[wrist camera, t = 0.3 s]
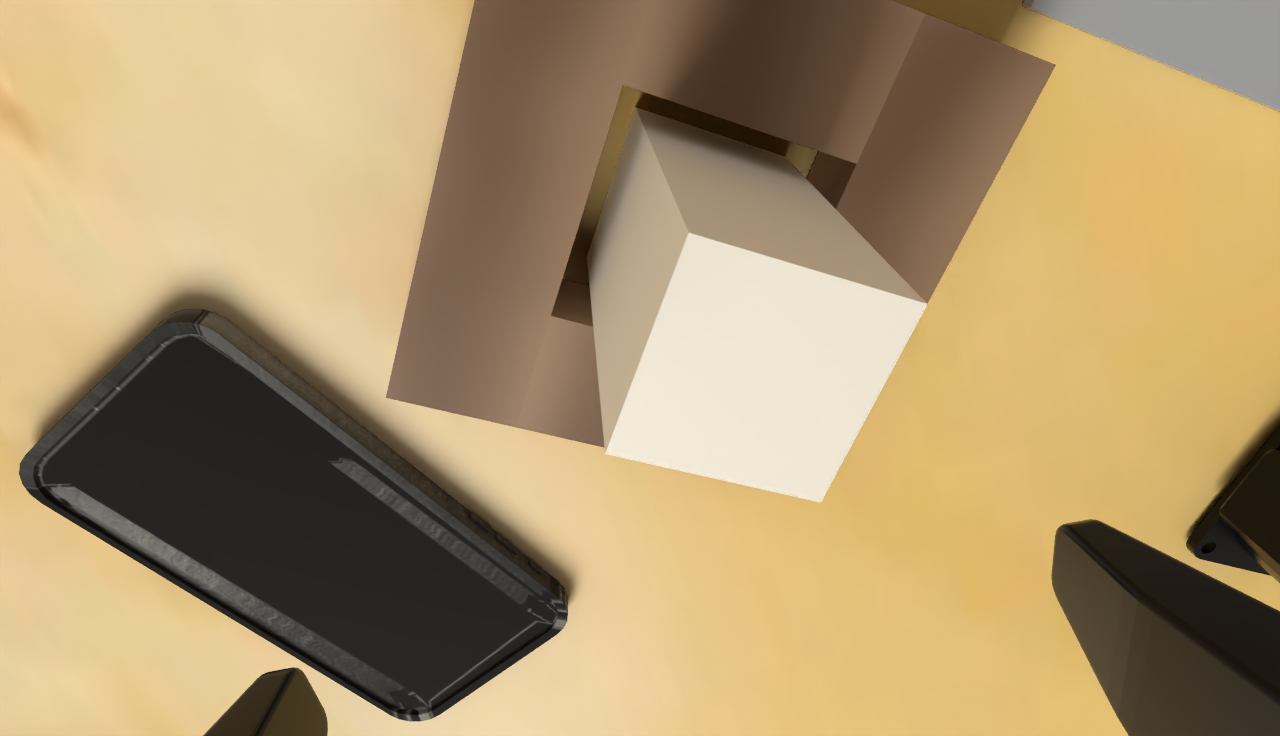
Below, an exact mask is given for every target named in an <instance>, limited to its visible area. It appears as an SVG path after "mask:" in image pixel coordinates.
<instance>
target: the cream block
mask: <svg viewBox="0 0 1280 736" xmlns="http://www.w3.org/2000/svg"><path fill="white" fill-rule="evenodd" d="M587 265H588V275H589V286H590V297H591V308H592V318H593V329H594V340H595V351H596V361H597V372H598V383H599V393H600V404H601V415H602V426H603V436H604V447H605V454H608V455H612V456H617V457H621V458H626V459H630V460H635V461H639V462H643V463H648V464H652V465H657V466H661V467H666V468H670V469H674V470H679V471H683V472H688V473H692V474H697V475H701V476H705V477H710V478H714V479H719V480H723V481H727V482H732V483H736V484H741V485H745V486H750V487H754V488H758V489H763V490H767V491H772V492H776V493H781V494H785V495H789V496H794V497H798V498H803V499H807V500H812V501H816V502H820V503H821V501H822V499H823V497H824V496H825V494H826V492H827V490H828V488H829V486H830V484H831V483H832V481H833V479H834V477H835V475H836V473H837V471H838V470H839V468H840V466H841V464H842V462H843V460H844V458H845V457H846V455H847V453H848V451H849V449H850V447H851V445H852V444H853V442H854V440H855V438H856V436H857V434H858V432H859V431H860V429H861V427H862V425H863V423H864V421H865V419H866V418H867V416H868V414H869V412H870V410H871V408H872V406H873V405H874V403H875V401H876V399H877V397H878V395H879V393H880V392H881V390H882V388H883V386H884V384H885V382H886V380H887V379H888V377H889V375H890V373H891V371H892V369H893V367H894V366H895V364H896V362H897V360H898V358H899V356H900V354H901V353H902V351H903V349H904V347H905V345H906V343H907V341H908V340H909V338H910V336H911V334H912V332H913V330H914V328H915V327H916V325H917V323H918V321H919V319H920V317H921V315H922V314H923V312H924V310H925V308H926V306H927V303H926V302H925V301H924V300H923V299H922V298H921V297H920V296H919V295H918V294H917V293H916V292H915V291H914V290H913V289H912V287H911V286H910V285H909V284H908V283H907V282H906V281H905V280H904V279H903V278H902V277H901V276H900V275H899V274H898V273H897V272H896V271H895V270H894V269H893V268H892V267H891V266H890V265H889V264H888V263H887V262H886V261H885V260H884V259H883V258H882V256H881V255H880V254H879V253H878V252H877V251H876V250H875V249H874V248H873V247H872V246H871V245H870V244H869V243H868V242H867V241H866V240H865V239H864V238H863V237H862V236H861V235H860V234H859V233H858V232H857V231H856V230H855V229H854V228H853V227H852V226H851V224H850V223H849V222H848V221H847V220H846V219H845V218H844V217H843V216H842V215H841V214H840V213H839V212H838V211H837V210H836V209H835V208H834V207H833V206H832V205H831V204H830V203H829V202H828V201H827V200H826V199H825V198H824V197H823V196H822V195H821V193H820V192H819V191H818V190H817V189H816V188H815V187H814V186H813V185H812V184H811V183H810V182H809V181H808V180H807V179H806V178H805V177H804V176H803V175H802V174H801V173H800V172H799V171H798V170H797V169H796V168H795V167H794V166H793V165H792V164H791V162H790V161H789V160H788V159H787V158H786V157H784V156H781V155H778V154H775V153H772V152H769V151H766V150H763V149H760V148H757V147H754V146H751V145H748V144H745V143H742V142H739V141H736V140H733V139H730V138H727V137H724V136H721V135H718V134H715V133H712V132H709V131H706V130H703V129H700V128H697V127H694V126H691V125H688V124H685V123H682V122H679V121H676V120H673V119H670V118H666V117H663V116H660V115H657V114H654V113H651V112H648V111H645V110H642V109H639V108H636V107H635V109H634V112H633V116H632V119H631V122H630V125H629V128H628V131H627V134H626V137H625V140H624V143H623V147H622V150H621V153H620V156H619V159H618V162H617V165H616V168H615V171H614V174H613V177H612V181H611V184H610V187H609V190H608V193H607V196H606V199H605V202H604V205H603V208H602V211H601V215H600V218H599V221H598V224H597V227H596V230H595V233H594V236H593V239H592V242H591V246H590V249H589V252H588V255H587Z"/></svg>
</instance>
